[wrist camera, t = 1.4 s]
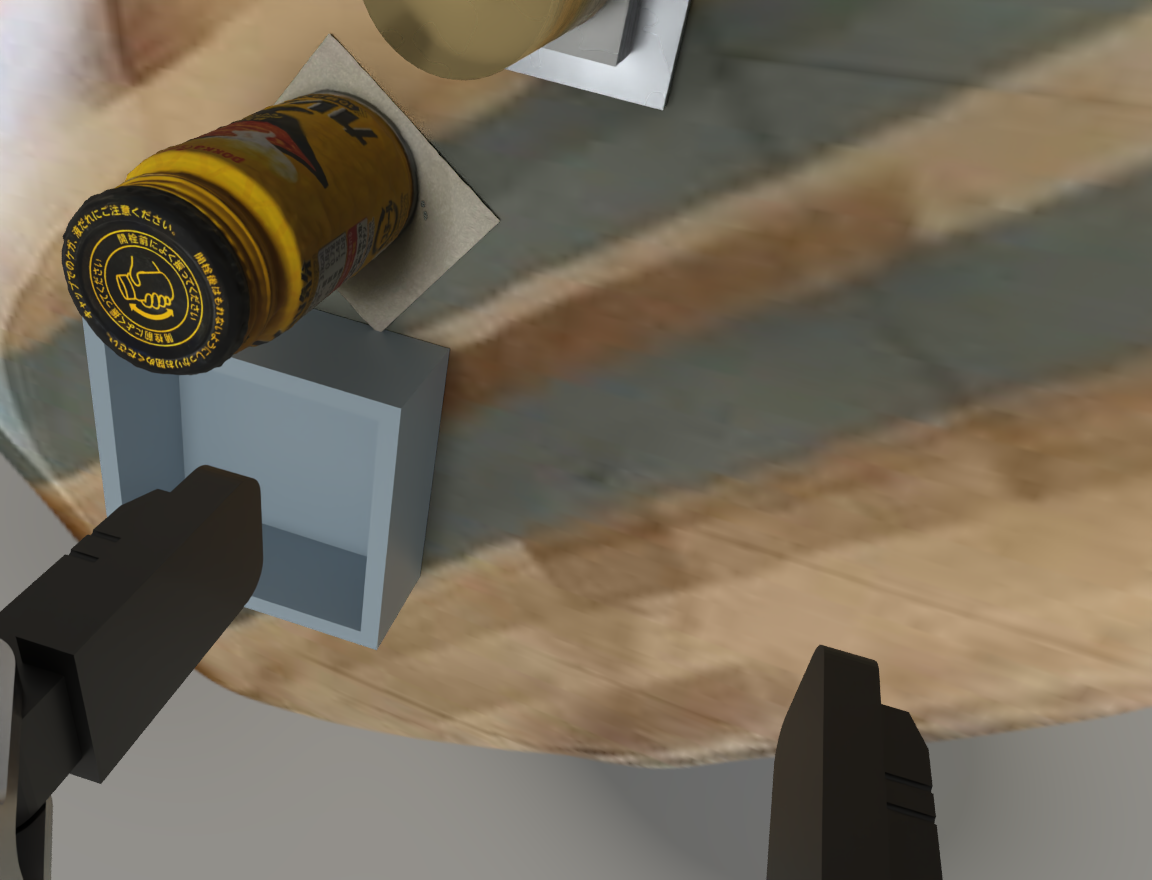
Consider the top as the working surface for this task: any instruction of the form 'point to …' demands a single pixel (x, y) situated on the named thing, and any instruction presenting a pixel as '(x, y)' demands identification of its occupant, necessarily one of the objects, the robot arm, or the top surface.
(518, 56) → the gold cylindrical piece
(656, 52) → the stud plate
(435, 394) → the bin
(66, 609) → the robot arm
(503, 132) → the top surface
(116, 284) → the condiment
